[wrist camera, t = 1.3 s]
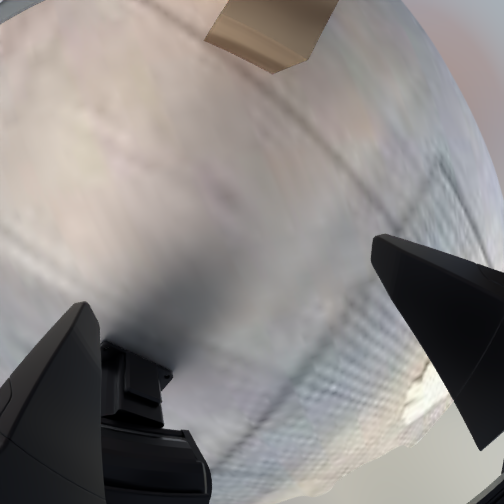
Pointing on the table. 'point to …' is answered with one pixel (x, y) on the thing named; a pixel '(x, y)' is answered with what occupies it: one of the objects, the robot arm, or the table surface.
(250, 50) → the walnut block
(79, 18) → the table surface
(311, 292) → the table surface
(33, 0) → the cradle tray
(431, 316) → the robot arm
